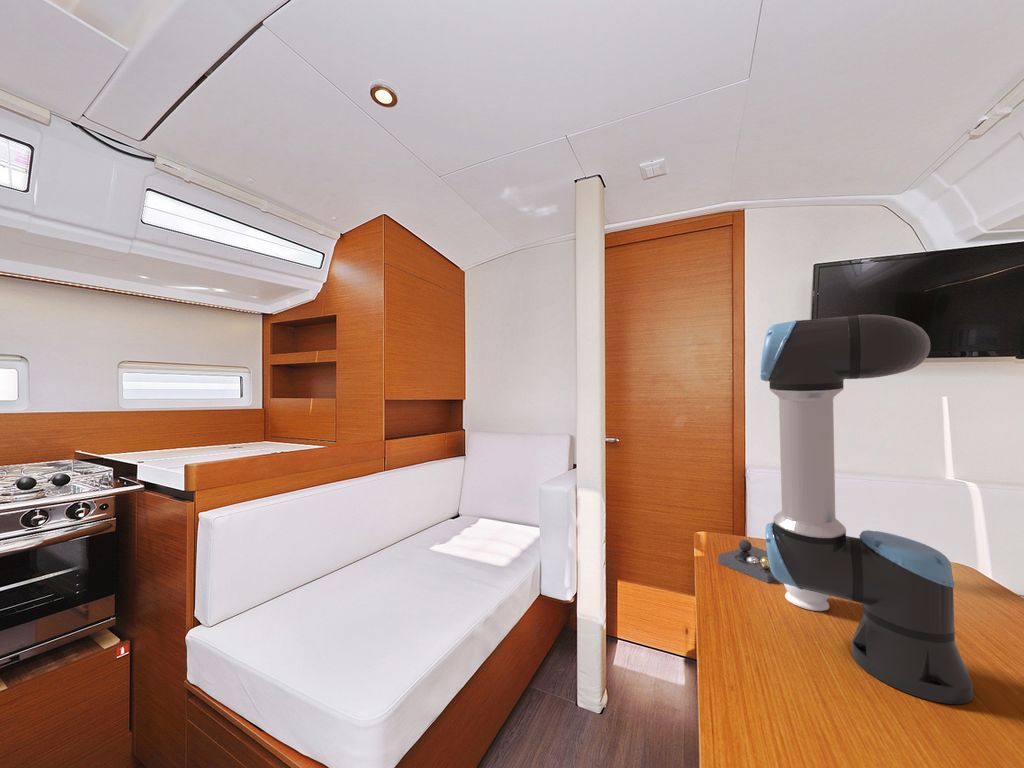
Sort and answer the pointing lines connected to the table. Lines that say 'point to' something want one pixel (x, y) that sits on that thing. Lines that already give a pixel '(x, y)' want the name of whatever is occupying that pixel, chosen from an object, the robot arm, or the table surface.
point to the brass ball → (765, 562)
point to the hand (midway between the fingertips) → (810, 477)
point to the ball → (752, 560)
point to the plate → (747, 563)
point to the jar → (806, 598)
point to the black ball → (745, 545)
